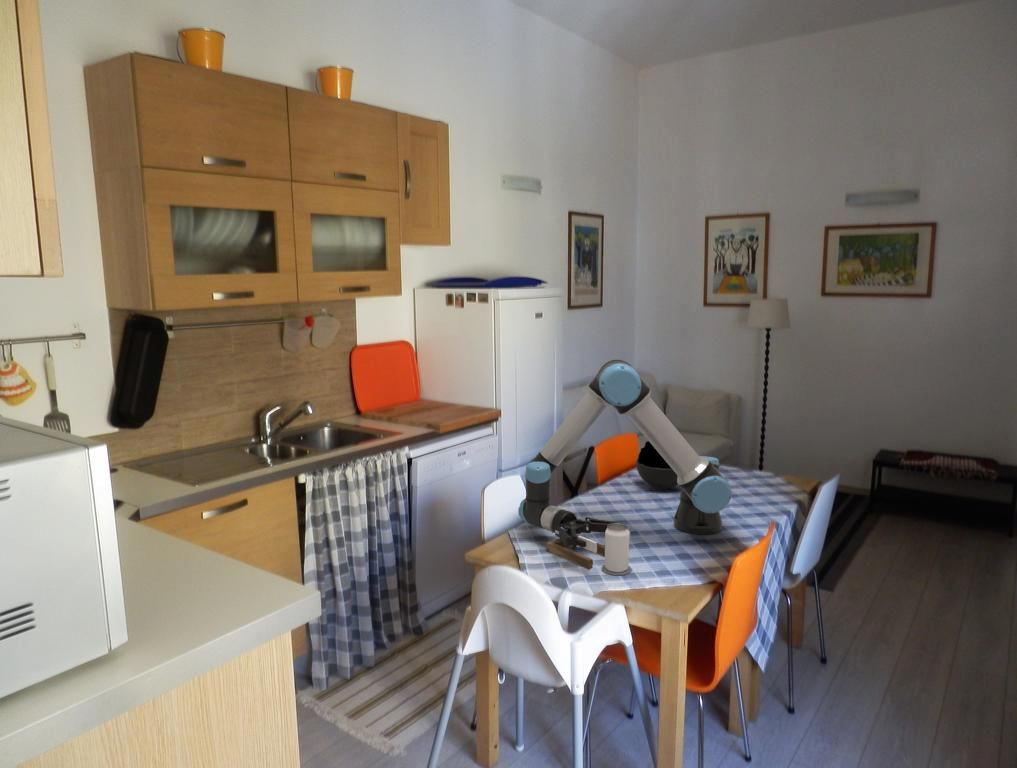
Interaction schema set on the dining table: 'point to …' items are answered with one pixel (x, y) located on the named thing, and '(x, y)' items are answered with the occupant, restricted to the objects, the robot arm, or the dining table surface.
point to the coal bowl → (655, 468)
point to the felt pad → (616, 572)
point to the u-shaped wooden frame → (573, 553)
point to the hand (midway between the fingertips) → (613, 541)
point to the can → (616, 547)
